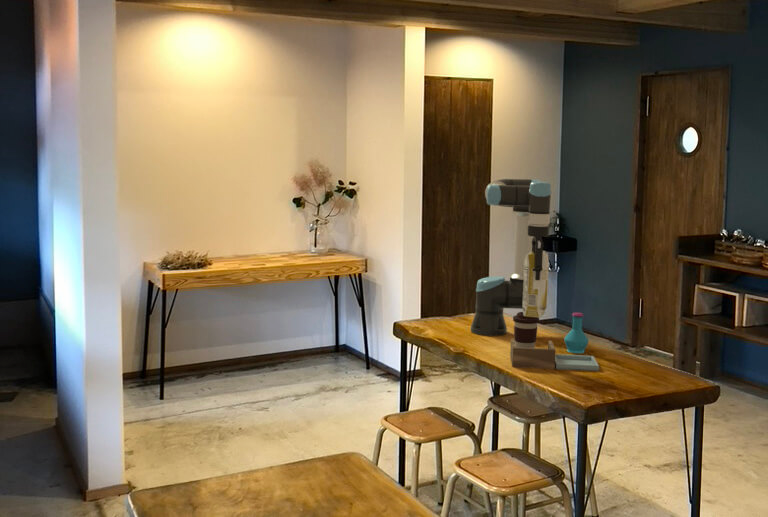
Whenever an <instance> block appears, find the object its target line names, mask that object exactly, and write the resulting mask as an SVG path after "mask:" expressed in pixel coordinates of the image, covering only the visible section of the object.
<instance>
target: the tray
mask: <svg viewBox="0 0 768 517" xmlns="http://www.w3.org/2000/svg"><path fill="white" fill-rule="evenodd" d="M555 370H563V371H564V370H565V371H583V372H585V371H586V372H600V365H599V363H598V361H597V360H596V357H595V356H594V355H580V354H578V355H577V354H557V353H555Z"/></svg>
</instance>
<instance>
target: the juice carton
mask: <svg viewBox="0 0 768 517" xmlns="http://www.w3.org/2000/svg"><path fill="white" fill-rule="evenodd" d="M534 258H535V255H534V253H533V252H530V253H529V254H527V255H526V258H525V263H524V282H523V305H522V307H523V309H522V312H523V315H524V316H526V317H537V318H539V319H540V318H542V317H543V316H544V315H545V314H546V310H547V304H548V303H547V302H548V285H549V266H550V264H549V263H550V262H549V253H548V252H546V250H543V253H542V270H541V271H542V272H541V289H533V275H534V271H532V269H534Z"/></svg>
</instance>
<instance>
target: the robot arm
mask: <svg viewBox="0 0 768 517" xmlns="http://www.w3.org/2000/svg"><path fill="white" fill-rule="evenodd" d="M551 194H552V185H551V183H550V182H548V181H547V182H546V181H542V180H540V179H532V178H529V179H528V178H527V179H525V178H524V179H521V178H519V179H517V178H502V179H498V180H494V181H492V182H490V183H488V185H487V186H486V188H485V189H484V197H485V199H486V205H488V206H499V207H504V208H512V212H513V214H514V215H515V237H514V238H515V240H514V260H513V261H514V262H513V265H514V266H513V273H512V274H511V275H510V276H509V280H506V278H505V277H504V276H486V277H483V278H480V279H478V280H477V283H476V289H475V292H476V294H475V296H476V298H475V314H474V317H473V319H472V321H471V325H470V332H471V333H473V334H475V335H479V336H487V337H488V336H491V337H492V336H503V335H506V334H507V332H508V331H507V330H508V328H507V324H506V320H505V316H504V309H521V310H523V307H522V305H523V282H524V263H525V258H526V255H527V254H529V253H530V252H533V253H534V255H535V258H534V269H532V271H534V275H533V289H541V272H542V271H541V270H542V253H543V251H544V244H545V243H544V241H543V239H542V238H547V237H549V236H550V234H549V232H550V227H549V225H550V219H551V214H550V213H551V212H550V208H551V197H552V195H551Z"/></svg>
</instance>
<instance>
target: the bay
mask: <svg viewBox="0 0 768 517" xmlns="http://www.w3.org/2000/svg"><path fill="white" fill-rule="evenodd" d="M556 351H557V350H556V348H555V345H554V343H553V341H552V340H551V339H550V340H548V341H547V348H541V347H540V348H537V347H535V348H519V347H516V344H515V340H514V338H510V351H509V354H510V356H509V358H510V362H511V366H512V368H522V369H527V368H528V369H546V370H547V369H548V370H556V368H555V354H556Z"/></svg>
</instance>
